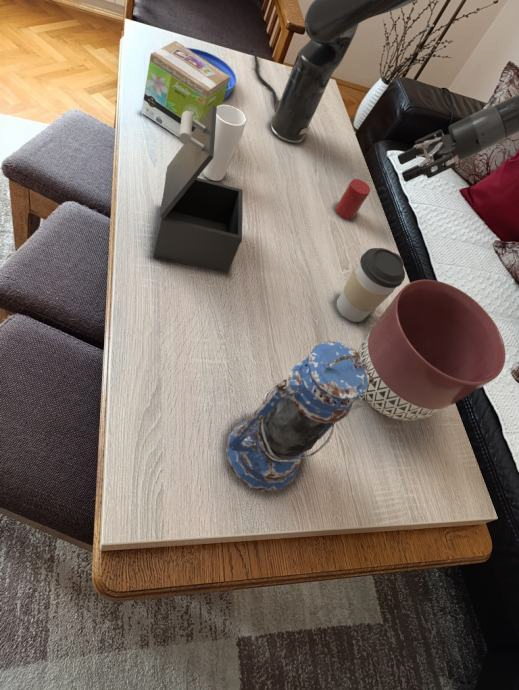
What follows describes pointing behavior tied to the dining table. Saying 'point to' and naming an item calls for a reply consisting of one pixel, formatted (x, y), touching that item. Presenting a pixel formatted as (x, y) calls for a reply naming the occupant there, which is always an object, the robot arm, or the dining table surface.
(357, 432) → the dining table surface
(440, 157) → the robot arm
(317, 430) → the lantern
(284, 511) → the dining table surface
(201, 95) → the tea box
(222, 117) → the white vase
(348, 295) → the coffee cup
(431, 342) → the planter
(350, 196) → the red cup
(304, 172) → the dining table surface
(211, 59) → the bowl
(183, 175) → the box lid
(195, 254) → the dark box
